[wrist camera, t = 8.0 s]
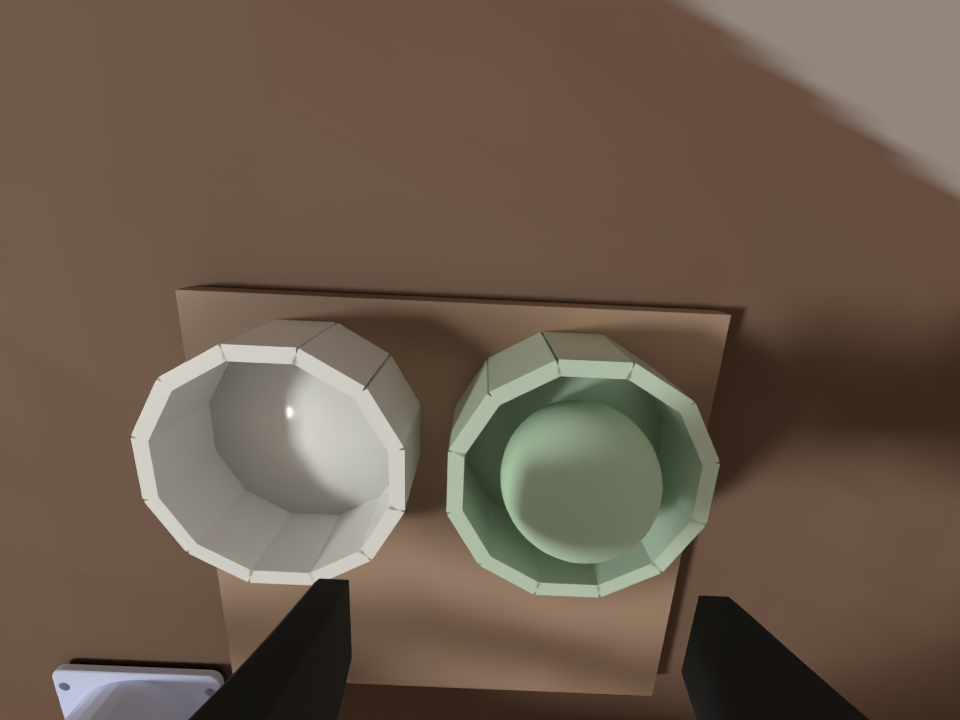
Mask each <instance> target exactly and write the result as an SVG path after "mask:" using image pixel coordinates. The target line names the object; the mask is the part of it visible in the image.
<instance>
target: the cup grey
mask: <svg viewBox="0 0 960 720" xmlns="http://www.w3.org/2000/svg"><path fill="white" fill-rule="evenodd" d="M388 355H389V353H388V352H386V351H384V350H383V349H381V348H379V347H377V346H376V345H374V344H372V343H371V342H369V341H367V340H366V339H364V338H362V337H361V336H359V335H357V334H356V333H354V332H352V331H351V330H349V329H347V328H346V327H344V326H342V325H341V324H339V323H337V324H336V323H335V322H320V321H298V320H273V321H271V322H268V323H266V324H264V325H261V326H259V327H257V328H255V329H252V330H250V331H248V332H246V333H243V334H241V335H239V336H236V337H234V338H232V339H230V340H227V341H225V342H223V343H220V344H218V345H216V346H214V347H213V348H211V349H209V350H207V351H205V352H203V353H202V354H200V355H198V356H196V357H194V358H193V359H191V360H189V361H187V362H185V363H184V364H182V365H180V366H178V367H176V368H174V369H173V370H171V371H169V372H167V373H165V374H164V375H162V376H160V377H159V378H158V379H156V382H155V384H154V386H153V388H152V390H151V393H150V395H149V397H148V399H147V401H146V404H145V406H144V408H143V410H142V412H141V415H140V417H139V419H138V421H137V424H136V426H135V428H134V430H133V432H132V435H131V436H133V437H132V438H131V441H132V447H133V452H134V457H135V462H136V467H137V472H138V477H139V482H140V487H141V493H142V498H143V499H147V500H145V501H144V502H145V503H146V505H147V506H148V507H149V508H150V509H151V511H152V512H153V513H154V514H155V515H156V516H157V518H158V519H159V520H160V521H161V522H162V524H163V525H164V526H165V527H166V528H167V530H168V531H169V532H170V533H171V534H172V536H173V537H174V538H175V539H176V540H177V542H178V543H179V544H180V545H181V546H182V547H183V549H184V550H185V551H188V550H190V551H189V554H191V555H193V556H195V557H197V558H199V559H201V560H203V561H205V562H207V563H209V564H211V565H213V566H215V567H217V568H220V569H222V570H224V571H226V572H228V573H230V574H232V575H234V576H236V577H238V578H240V579H242V580H244V581H246V582H248V581H249V579H250V583H267V584H290V585H313V583H314V582H316V581H317V580H318V579H319V578H322V579H331V578H333V577H335V576H338V575H340V574H342V573H345V572H347V571H349V570H351V569H354V568H356V567H358V566H360V565H363V564H365V563H367V562H369V561H370V560H371V559H373V558H374V556H375V555H376V553H377V552H378V550H379V549H380V547H381V546H382V544H383V543H384V542H385V540H386V539H387V537H388V536H389V534H390V533H391V531H392V530H393V528H394V527H395V526H396V524H397V523H398V521H399V520H400V518H401V517H402V515H403V514H404V512H405V508H406V505H407V501H408V498H409V494H410V491H411V487H412V483H413V480H414V476H415V473H416V469H417V465H418V462H419V458H420V414H421V406H419V405H420V403H419V401H418V399H417V398H416V396H415V394H414V393H413V391H412V389H411V388H410V386H409V384H408V383H407V381H406V379H405V378H404V376H403V374H402V373H401V371H400V369H399V367H398V366H397V364H396V362H395V361H394V359H393V357H392V356H389V357H388Z"/></svg>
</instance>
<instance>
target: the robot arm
mask: <svg viewBox="0 0 960 720" xmlns="http://www.w3.org/2000/svg"><path fill="white" fill-rule="evenodd" d="M351 659H352V645H351V619H350V593H349V580H344V579H322V578H319V579H318V580H317V581H316V582H314V583H313V585H312V586H311V587H310V588H309V589H308V590H307V592H306V593H305V594H304V595H303V596H302V598H301V599H300V600H299V601H298V602H297V603H296V605H295V606H294V607H293V608H292V609H291V610H290V612H289V613H288V614H287V615H286V616H285V617H284V618H283V620H282V621H281V622H280V623H279V624H278V625H277V626H276V627H275V629H274V630H273V631H272V632H271V633H270V634H269V635H268V637H267V638H266V639H265V640H264V641H263V642H262V643H261V644H260V645H259V646H258V647H257V649H256V650H255V651H254V652H253V653H252V654H251V655H250V656H249V657H248V658H247V659H246V660H245V661H244V663H243V664H242V665H241V666H240V667H239V668H238V669H237V670H236V671H235V672H234V673H233V674H232V675H231V677H230V678H229V679H228V680H227V681H226V682H225V683H224V679H223V676H222V674H221V673H220V672H218V671H216V670H205V669H181V668H157V667H133V666H108V665H84V664H62V665H61V666H59V667H58V668H57V669H56V670H55V671H54V673H53V681H54V684H55V688H56V691H57V694H58V698H59V701H60V704H61V708H62V711H63V714H64V718H65V720H337V717H338V713H339V709H340V705H341V701H342V697H343V693H344V689H345V685H346V681H347V676H348V672H349V668H350V664H351ZM681 672H682V675H683V678H684V682H685V685H686V688H687V691H688V694H689V697H690V701H691V704H692V707H693V710H694V713H695V715H696V718H697V720H869V719H868V718H867V717H865V716H864V715H863V714H862V713H861V712H859V711H858V710H857V709H856V708H855V707H854V706H852V705H851V704H850V703H849V702H848V701H847V700H845V699H844V698H843V697H842V696H841V695H840V694H838V693H837V692H836V691H835V690H834V689H833V688H832V687H830V686H829V685H828V684H827V683H826V682H825V681H824V680H822V679H821V678H820V677H819V676H818V675H817V674H816V673H814V672H813V671H812V670H811V669H810V668H809V667H808V666H806V665H805V664H804V663H803V662H802V661H801V660H800V659H799V658H797V657H796V656H795V655H794V654H793V653H792V652H791V651H790V650H788V649H787V648H786V647H785V646H784V645H783V644H782V643H781V642H780V641H778V640H777V639H776V638H775V637H774V636H773V635H772V634H771V633H769V632H768V631H767V630H766V629H765V628H764V627H763V626H762V625H761V624H759V623H758V622H757V621H756V620H755V619H754V618H753V617H751V616H750V615H749V614H748V613H747V612H746V611H745V610H743V609H742V608H741V607H740V606H739V605H738V604H736V603H735V602H734V601H733V600H732V599H731V598H729V597H720V596H699V598H698V603H697V607H696V611H695V615H694V620H693V624H692V628H691V633H690V637H689V641H688V645H687V650H686V654H685V658H684V663H683V667H682V671H681Z"/></svg>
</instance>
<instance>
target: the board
mask: <svg viewBox="0 0 960 720" xmlns="http://www.w3.org/2000/svg"><path fill="white" fill-rule="evenodd" d="M175 291H176V298H177V304H178V311H179V318H180V324H181V331H182V338H183V345H184V351H185V358H186V362H187V361H189V360H191V359H193V358H194V357H196V356H198V355H200V354H202V353H203V352H205V351H207V350H209V349H211V348H213V347H214V346H216V345H218V344H220V343H223V342H225V341H227V340H230V339H232V338H234V337H236V336H239V335H241V334H243V333H246V332H248V331H250V330H252V329H255V328H257V327H259V326H261V325H264V324H266V323H268V322H271V321H273V320H298V321H320V322H335V323H336V324H337V323H339V324H341V325H342V326H344V327H346V328H347V329H349V330H351V331H352V332H354V333H356V334H357V335H359V336H361V337H362V338H364V339H366V340H367V341H369V342H371V343H372V344H374V345H376V346H377V347H379V348H381V349H383V350H384V351H386V352H388V353H389V355H388V357H389V356H392V357H393V359H394V361H395V362H396V364H397V366H398V367H399V369H400V371H401V373H402V374H403V376H404V378H405V379H406V381H407V383H408V384H409V386H410V388H411V389H412V391H413V393H414V394H415V396H416V398H417V399H418V401H419V403H420V405H419V406H421V414H420V458H419V462H418V465H417V469H416V473H415V476H414V480H413V483H412V487H411V491H410V494H409V498H408V501H407V505H406V508H405V512H404V514H403V515H402V517H401V518H400V520H399V521H398V523H397V524H396V526H395V527H394V528H393V530H392V531H391V533H390V534H389V536H388V537H387V539H386V540H385V542H384V543H383V544H382V546H381V547H380V549H379V550H378V552H377V553H376V555H375V556H374V558H373V559H371V560H370V561H369V562H367V563H365V564H363V565H360V566H358V567H356V568H354V569H351V570H349V571H347V572H345V573H342V574H340V575H338V576H335V577H333V578H331V579H344V580H349V593H350V619H351V645H352V659H351V664H350V668H349V672H348V676H347V681H346V683H353V684H377V685H402V686H426V687H450V688H474V689H498V690H522V691H547V692H571V693H595V694H619V695H643V696H652V695H653V690H654V685H655V680H656V675H657V670H658V666H659V661H660V656H661V651H662V646H663V642H664V637H665V632H666V627H667V622H668V617H669V613H670V608H671V603H672V598H673V593H674V588H675V584H676V579H677V574H678V569H679V564H680V560H681V555H682V552H681V553H680V554H679V555H678V556H677V557H676V558H675V559H674V561H673V562H672V563H671V564H670V565H669V566H668V567H667V568H666V569H665V570H664V571H663V572H662V571H660V570H659V571H660V573H661V574H658V575H656V576H653V577H651V578H648V579H646V580H643V581H641V582H638V583H636V584H633V585H631V586H628V587H625V588H623V589H620V590H618V591H615V592H613V593H610V594H608V595H605V596H603V597H601V596H600V594H599V597H598V598H597V597H573V596H549V595H536V594H535V592H534V594H532V593H530V592H528V591H526V590H524V589H522V588H520V587H519V586H517V585H515V584H513V583H511V582H509V581H507V580H505V579H504V578H502V577H500V576H498V575H496V574H494V573H492V572H490V571H489V570H487V569H485V568H483V567H481V566H480V563H479V564H478V563H477V562H476V560H475V559H474V557H473V555H472V554H471V552H470V551H469V549H468V547H467V546H466V544H465V543H464V541H463V539H462V538H461V536H460V535H459V533H458V531H457V530H456V528H455V527H454V525H453V523H452V522H451V520H450V519H449V517H448V515H447V512H446V507H447V470H448V449H449V442H450V436H451V430H452V424H453V417H454V411H455V407H456V404H457V403H458V401H459V400H460V398H461V397H462V395H463V394H464V392H465V391H466V389H467V388H468V386H469V385H470V383H471V382H472V380H473V379H474V377H475V376H476V374H477V373H478V371H479V370H480V368H481V367H482V365H483V364H484V362H485V361H486V360H487V361H488V358H489V357H491V356H493V355H495V354H497V353H499V352H501V351H503V350H505V349H507V348H510V347H512V346H514V345H516V344H518V343H520V342H522V341H524V340H526V339H528V338H530V337H532V336H534V335H536V334H538V333H540V332H541V334H542V335H543V332H562V333H584V334H602V335H603V336H604V335H605V336H606V337H608V338H609V339H611V340H613V341H614V342H616V343H617V344H619V345H620V346H622V347H623V348H625V349H626V350H628V351H629V352H631V353H632V354H634V355H635V356H637V357H638V358H640V359H642V360H643V361H645V362H646V363H648V364H649V365H651V366H652V367H653V368H654V369H655V370H657V371H658V372H659V373H660V374H662V375H663V376H664V377H665V378H666V379H668V380H669V381H670V382H671V383H672V384H674V385H675V386H676V387H677V388H679V389H680V390H681V391H682V392H683V393H685V394H686V395H687V396H688V397H690V398H691V399H692V400H693V401H694V402H695V403H696V405H697V407H698V410H699V412H700V415H701V417H702V419H703V422H704V424H705V427H706V429H708V424H709V420H710V415H711V410H712V405H713V400H714V396H715V391H716V386H717V381H718V376H719V371H720V367H721V362H722V357H723V352H724V347H725V342H726V338H727V333H728V328H729V323H730V318H731V315H730V314H727V313H724V312H721V311H718V310H705V309H683V308H661V307H639V306H617V305H595V304H573V303H551V302H529V301H508V300H486V299H464V298H442V297H420V296H398V295H376V294H354V293H332V292H311V291H289V290H267V289H245V288H223V287H201V286H191V287H186V288H181V289H176V290H175ZM217 572H218V579H219V586H220V593H221V599H222V606H223V613H224V619H225V626H226V633H227V639H228V646H229V653H230V660H231V666H232V673H234V672H235V671H236V670H237V669H238V668H239V667H240V666H241V665H242V664H243V663H244V661H245V660H246V659H247V658H248V657H249V656H250V655H251V654H252V653H253V652H254V651H255V650H256V649H257V647H258V646H259V645H260V644H261V643H262V642H263V641H264V640H265V639H266V638H267V637H268V635H269V634H270V633H271V632H272V631H273V630H274V629H275V627H276V626H277V625H278V624H279V623H280V622H281V621H282V620H283V618H284V617H285V616H286V615H287V614H288V613H289V612H290V610H291V609H292V608H293V607H294V606H295V605H296V603H297V602H298V601H299V600H300V599H301V598H302V596H303V595H304V594H305V593H306V592H307V590H308V589H309V588H310V587H311V586H312V585H290V584H267V583H250V579H249V581H248V582H246V581H244V580H242V579H240V578H238V577H236V576H234V575H232V574H230V573H228V572H226V571H224V570H222V569H220V568H217Z"/></svg>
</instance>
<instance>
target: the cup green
mask: <svg viewBox="0 0 960 720" xmlns="http://www.w3.org/2000/svg"><path fill="white" fill-rule="evenodd" d="M566 400H587V401H593V402H597V403H601V404H604V405H607V406H610V407H611V408H613V409H615V410H617V411H619V412H621V413H623V414H624V415H625V416H627V417H628V418H630V419H631V420H632V421H633V422H634V423H635V424H636V425H637V426H638V427H639V428H640V429H641V430H642V431H643V433H644V434H645V435H646V437H647V438H648V440H649V441H650V443H651V445H652V446H653V448H654V450H655V453H656V455H657V458H658V461H659V464H660V468H661V473H662V484H663V490H662V499H661V505H660V509H659V512H658V514H657V517H656V519H655V521H654V523H653V525H652V527H651V529H650V530H649V532H648V533H647V534H646V536H645V537H644V538H643V539H642V540H641V541H640V542H639V543H638V544H637V545H636V546H634V547H633V548H632V549H631V550H629V551H628V552H626V553H625V554H623V555H621V556H619V557H617V558H614V559H611V560H608V561H604V562H599V563H586V564H582V563H572V562H567V561H564V560H561V559H558V558H555V557H553V556H551V555H548V554H546V553H545V552H543V551H541V550H540V549H538V548H537V547H536V546H534V545H533V544H532V543H531V542H530V541H528V540H527V539H526V538H525V537H524V535H523V534H522V533H521V532H520V531H519V530H518V528H517V527H516V525H515V524H514V522H513V521H512V519H511V517H510V515H509V513H508V511H507V509H506V506H505V503H504V500H503V495H502V490H501V464H502V459H503V455H504V452H505V449H506V446H507V444H508V442H509V440H510V438H511V437H512V435H513V433H514V432H515V430H516V429H517V428H518V427H519V426H520V424H521V423H522V422H523V421H524V420H525V419H526V418H527V417H529V416H530V415H531V414H533V413H534V412H536V411H537V410H539V409H541V408H543V407H545V406H548V405H550V404H553V403H556V402H560V401H566ZM718 462H719V458H718V456H717V453H716V451H715V449H714V446H713V444H712V441H711V439H710V436H709V434H708V432H707V429H706V427H705V424H704V422H703V419H702V417H701V415H700V412H699V410H698V407H697V405H696V403H695V402H694V401H693V400H692V399H691V398H690V397H688V396H687V395H686V394H685V393H683V392H682V391H681V390H680V389H679V388H677V387H676V386H675V385H674V384H672V383H671V382H670V381H669V380H668V379H666V378H665V377H664V376H663V375H662V374H660V373H659V372H658V371H657V370H655V369H654V368H653V367H652V366H651V365H649V364H648V363H646V362H645V361H643V360H642V359H640V358H638V357H637V356H635V355H634V354H632V353H631V352H629V351H628V350H626V349H625V348H623V347H622V346H620V345H619V344H617V343H616V342H614V341H613V340H611V339H609V338H608V337H606V336H605V335H604V336H603V335H602V334H584V333H562V332H543V335H542V334H541V332H540V333H538V334H536V335H534V336H532V337H530V338H528V339H526V340H524V341H522V342H520V343H518V344H516V345H514V346H512V347H510V348H507V349H505V350H503V351H501V352H499V353H497V354H495V355H493V356H491V357H489V358H488V361H487V360H486V361H485V362H484V364H483V365H482V367H481V368H480V370H479V371H478V373H477V374H476V376H475V377H474V379H473V380H472V382H471V383H470V385H469V386H468V388H467V389H466V391H465V392H464V394H463V395H462V397H461V398H460V400H459V401H458V403H457V404H456V407H455V411H454V417H453V424H452V430H451V436H450V442H449V449H448V470H447V507H446V512H447V515H448V517H449V519H450V520H451V522H452V523H453V525H454V527H455V528H456V530H457V531H458V533H459V535H460V536H461V538H462V539H463V541H464V543H465V544H466V546H467V547H468V549H469V551H470V552H471V554H472V555H473V557H474V559H475V560H476V562H477V563H478V564H479V563H480V566H481V567H483V568H485V569H487V570H489V571H490V572H492V573H494V574H496V575H498V576H500V577H502V578H504V579H505V580H507V581H509V582H511V583H513V584H515V585H517V586H519V587H520V588H522V589H524V590H526V591H528V592H530V593H532V594H534V592H535V594H536V595H549V596H573V597H597V598H598V597H599V594H600V596H601V597H603V596H605V595H608V594H610V593H613V592H615V591H618V590H620V589H623V588H625V587H628V586H631V585H633V584H636V583H638V582H641V581H643V580H646V579H648V578H651V577H653V576H656V575H658V574H661V573H660V571H662V572H663V571H664V570H665V569H666V568H667V567H668V566H669V565H670V564H671V563H672V562H673V561H674V559H675V558H676V557H677V556H678V555H679V554H680V553H681V552H682V551H683V550H684V549H685V548H686V546H687V545H688V544H689V543H690V542H691V541H692V540H693V539H694V538H695V537H696V536H697V535H698V533H699V532H700V531H701V530H702V529H703V528H704V527H705V525H704V523H706V524H707V520H708V516H709V511H710V507H711V502H712V498H713V493H714V489H715V484H716V480H717V475H718V471H719V466H720V464H719V463H718ZM659 570H660V571H659Z"/></svg>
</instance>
